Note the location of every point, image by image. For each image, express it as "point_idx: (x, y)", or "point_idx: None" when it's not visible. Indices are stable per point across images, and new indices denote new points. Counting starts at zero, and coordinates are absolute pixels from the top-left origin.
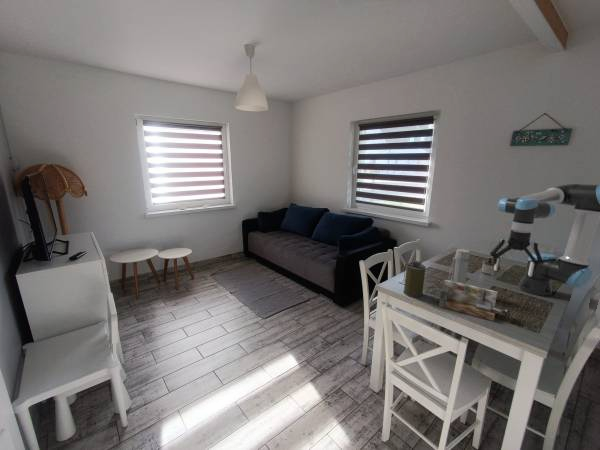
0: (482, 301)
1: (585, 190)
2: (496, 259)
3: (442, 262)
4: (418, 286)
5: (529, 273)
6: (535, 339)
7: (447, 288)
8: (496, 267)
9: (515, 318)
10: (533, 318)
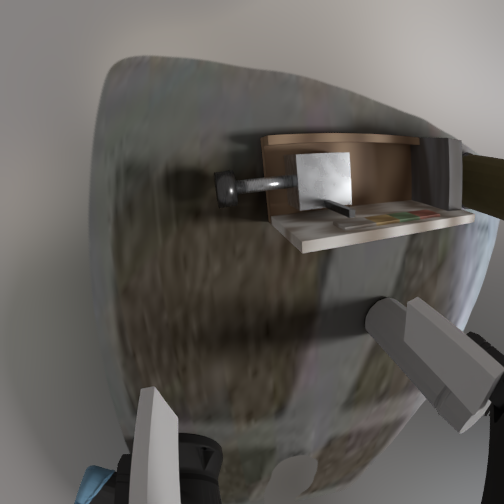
0: (330, 194)
1: None
2: (493, 366)
3: (389, 430)
4: (489, 164)
5: (161, 415)
6: (126, 105)
7: (452, 177)
8: (436, 316)
9: (193, 227)
10: (143, 278)
